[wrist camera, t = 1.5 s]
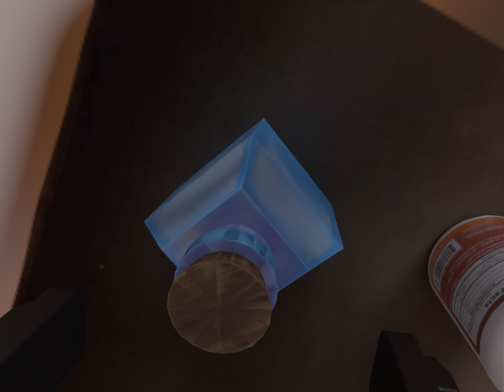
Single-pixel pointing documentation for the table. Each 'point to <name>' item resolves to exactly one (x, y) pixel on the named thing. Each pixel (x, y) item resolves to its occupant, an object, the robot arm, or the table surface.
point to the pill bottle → (474, 287)
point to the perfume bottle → (241, 239)
